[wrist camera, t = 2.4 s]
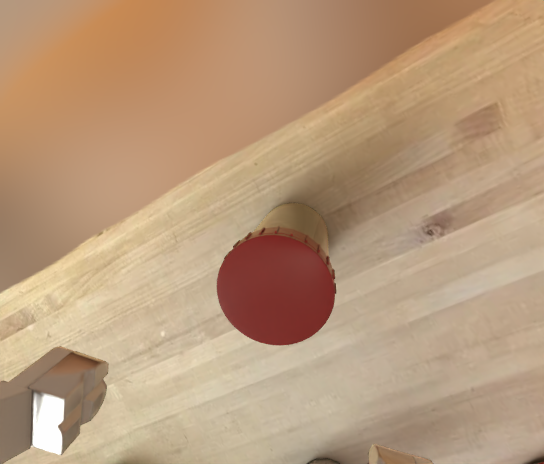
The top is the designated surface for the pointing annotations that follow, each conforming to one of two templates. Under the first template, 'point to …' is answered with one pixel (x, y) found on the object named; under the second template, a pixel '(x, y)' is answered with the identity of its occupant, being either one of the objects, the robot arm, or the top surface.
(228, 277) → the lid
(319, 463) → the cup
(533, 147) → the top surface
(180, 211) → the top surface
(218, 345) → the top surface
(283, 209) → the jar
